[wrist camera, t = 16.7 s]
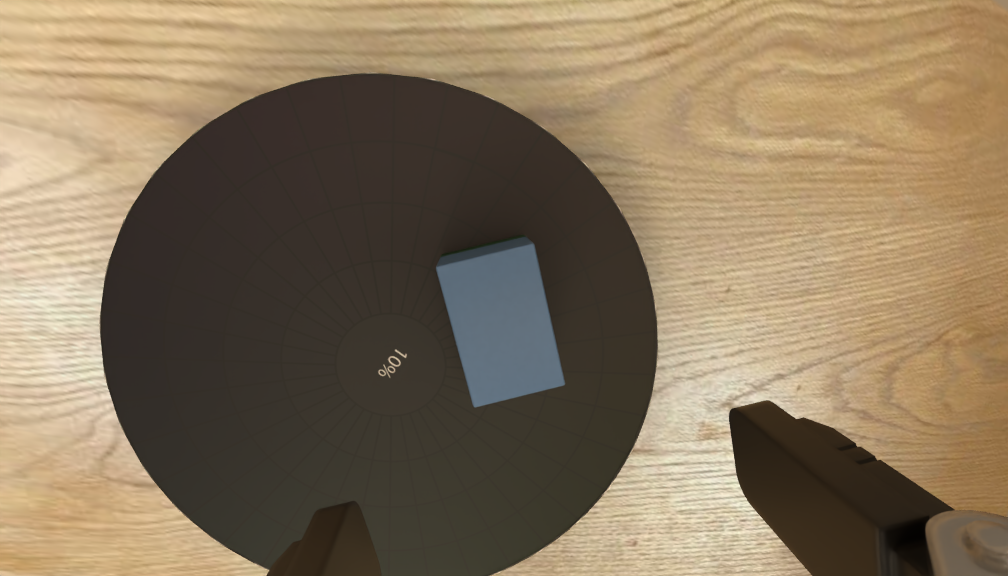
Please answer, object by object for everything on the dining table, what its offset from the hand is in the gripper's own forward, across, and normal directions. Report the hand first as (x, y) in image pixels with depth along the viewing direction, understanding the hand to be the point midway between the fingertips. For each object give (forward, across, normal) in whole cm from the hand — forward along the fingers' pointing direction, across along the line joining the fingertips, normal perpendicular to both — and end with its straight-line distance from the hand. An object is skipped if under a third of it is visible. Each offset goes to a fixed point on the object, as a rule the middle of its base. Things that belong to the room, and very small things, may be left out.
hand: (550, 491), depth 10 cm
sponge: (+16, 0, 0) cm, 16 cm away
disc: (+19, +7, +2) cm, 20 cm away
